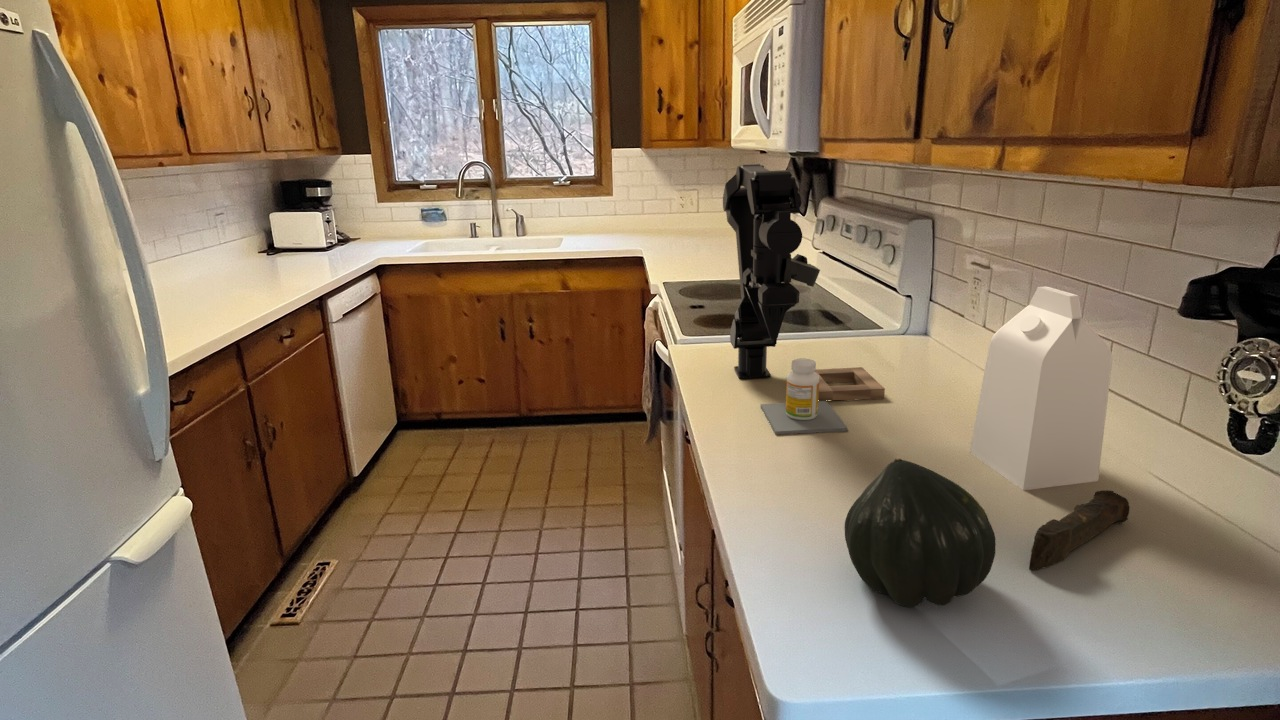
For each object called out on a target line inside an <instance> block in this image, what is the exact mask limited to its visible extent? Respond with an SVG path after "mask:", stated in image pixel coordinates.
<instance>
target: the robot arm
mask: <svg viewBox="0 0 1280 720" xmlns="http://www.w3.org/2000/svg"><path fill="white" fill-rule="evenodd" d="M799 189H800V188H799V185H798V183H797V182H796V178H795V176H793V174H792V172H791V171H790V170H789V169H781V170H770V169H767V168H765V165H763V164H762V165H761V164H760V163H757V164H755V163H754V164H753V163H751V164H741V165H738V166H737V167H736V172H735V174H734V175H733V176H732V177H731V178H730V179H729V180H728V181H727V182H726V183H725V184H724V189H723V195H722V209H723V211H724V212H725V214H726V221H727V223H728V224H729V226H731V228H732V229H733V231H734V232H735V238H736V239H735V240H736V250H737V260H738V261H737V263H738V275H739V276H738V277H739V285H740V286H739V287H740V297H741V298H740V299H741V301H740V303H739V305H738V307H737V308H736V311H735V313H734V318H733V320H732V323H731V326H730V331H729V339H730V341H729V342H730V344H731V346H732V347H733V349H735V350H736V349H738V350H737V351H738V352H737V353H738V355H737V356H738V357H737V359H738V361H737V362H738V364H737V365H736V366H734V367H733V369H734V371H735V373H736V376H737V377H738V379H743V380H744V379H760V378H761V379H763V378H771V377H772V375H771V372H770V371H769V369H768V368H767V358H768V357H767V355H768V350H767V348H768V347H772V348H773V347H774V348H775V347H776V344H778V342H777V341H778V337H779V334H780V331H781V327H782V325H783V321H784V319H785V316H786V313H787V311H789V310H790V309H791V308H793V307H795V306H797V304H799V303H800V291H799V290H798V289H797V288H796V287H795V286H794V285H793V284H791V283H792V280H794V281H797V282H800V283H802V284H803V283H804V284H806V285H807V286H808V287H812V288H813V287H814V286H815V285H816V281H817V279H818V277H819V274H820V271H821V269H819V268H818V267H816V266H814V265H813V264H811V263H808V258H807V256H806V255H802V254H799V253H798V254H796V255H795V256H794V257H793V258H792V253H795V251H796V250H797V249H799V247H800V245H801V244H802V240H803V232H802V230H801V229H802V228H801V227H800V225H799V224H798V223H797V222H796V221H795V220H793V219H791V216H792V214H800V211H801V206H802V203H803V202H802V198H801V193H800V190H799Z"/></svg>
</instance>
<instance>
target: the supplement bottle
mask: <svg viewBox="0 0 1280 720" xmlns="http://www.w3.org/2000/svg"><path fill="white" fill-rule="evenodd" d="M816 366H817V363H816V361H815V359H812V358H805V357H803V358H795V359H794V360H792V361H791V367H790V368H791V371H790V372H788V374H787V375H786V392H785V395H786V396H785V403H786V414H787V416H788V417H790V418H792V419H796V420H811V419H814V418H815V417H816V416H817V414H818V395H819V376H818V375H817V374H816V373H815V372H814V371H815V370H816V369H817V367H816Z"/></svg>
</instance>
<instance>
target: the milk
mask: <svg viewBox="0 0 1280 720" xmlns="http://www.w3.org/2000/svg"><path fill="white" fill-rule="evenodd" d="M1082 317H1083V316H1082V308H1081V303H1080V295H1078V294H1075V293H1072V292H1068V291H1065V290H1062V289H1057V288H1055V287H1050V286H1044V285H1043V286H1037V288H1036V290H1035V292H1034V294H1033V296H1032V298H1031V300H1030V302H1029V305H1027V306H1025V307H1024V308H1023V309H1022V310H1021V311H1019V312H1018V313H1016V314H1015V316H1013V317H1012V318H1011V319H1010V320H1009V321H1008V320H1007V322H1006V323H1005V324H1003V325H1002V326H1001V327H1000V328H998V330H997V331H996V332H994V334H993V335H992V337H991V339H990V342H989V344H988V351H987V356H986V361H985V366H984V371H983V375H982V382H981V388H980V393H979V398H978V404H977V409H976V415H975V420H974V423H973V430H972V436H971V441H970V446H969V454H971V455H972V456H974V457H975V458H976V459H978V460H980V462H982V463H983V464H985V465H986V466H988V467H989V468H991V469H992V471H993V470H994V471H995V472H996V473H998V474H999V475H1000V476H1002V477H1004V479H1006V480H1008V481H1009V482H1010V483H1012V484H1013V485H1014V486H1016V487H1017V488H1019V489H1020V490H1022V491H1030V490H1037V489H1043V488H1044V489H1045V488H1052V487H1054V488H1055V487H1060V486H1068V485H1076V484H1077V485H1078V484H1082V483H1083V484H1085V483H1093V482H1098V481H1099V477H1100V476H1099V475H1100V467H1101V458H1102V450H1103V442H1104V435H1105V426H1106V416H1107V408H1108V400H1109V399H1108V398H1109V390H1110V384H1111V383H1110V382H1111V375H1112V365H1113V353H1112V350H1111V348H1110V346H1109V345H1108V344H1107V343H1106V342H1105V340H1104V339H1103V338H1102V337H1101V336H1100V335H1098V333H1097V332H1096V331H1095V330H1094V329H1093V328H1092V327H1091V326H1090V325H1089V324H1088V323H1087V322H1086V321H1085V319H1083V318H1082Z"/></svg>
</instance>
